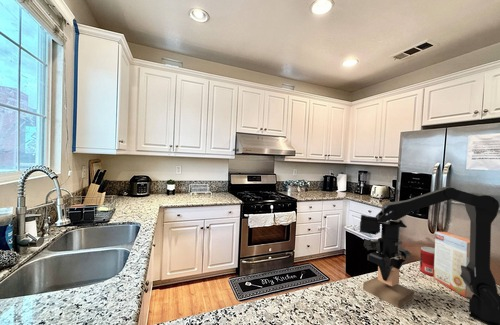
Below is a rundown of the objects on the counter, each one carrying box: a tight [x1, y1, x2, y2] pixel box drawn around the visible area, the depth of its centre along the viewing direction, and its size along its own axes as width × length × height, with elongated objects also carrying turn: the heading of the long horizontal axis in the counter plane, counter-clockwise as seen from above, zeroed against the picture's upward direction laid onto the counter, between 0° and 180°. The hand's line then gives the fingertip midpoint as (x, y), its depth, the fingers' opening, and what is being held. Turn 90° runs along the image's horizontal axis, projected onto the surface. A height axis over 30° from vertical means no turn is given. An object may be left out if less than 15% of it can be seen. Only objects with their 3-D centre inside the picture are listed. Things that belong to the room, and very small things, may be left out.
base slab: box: [362, 276, 415, 309], centre depth 79 cm, size 12×12×3 cm
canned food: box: [419, 246, 435, 278], centre depth 97 cm, size 8×8×11 cm
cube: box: [377, 266, 401, 286], centre depth 79 cm, size 5×5×5 cm
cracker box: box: [433, 231, 474, 299], centre depth 86 cm, size 14×6×21 cm, turn 179°
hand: (388, 278), depth 79 cm, fingers closed on cube, 5 cm apart
